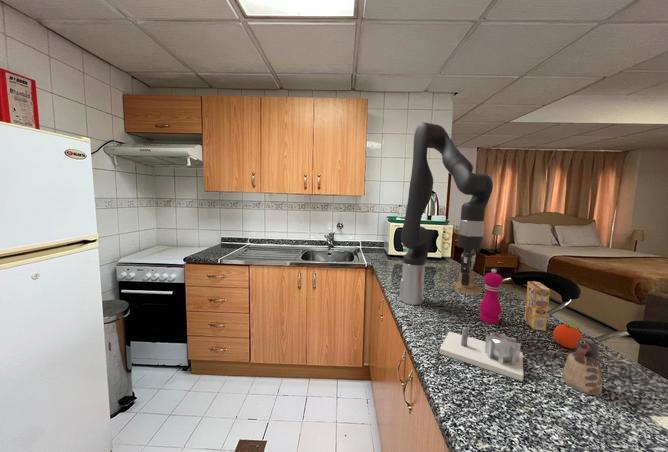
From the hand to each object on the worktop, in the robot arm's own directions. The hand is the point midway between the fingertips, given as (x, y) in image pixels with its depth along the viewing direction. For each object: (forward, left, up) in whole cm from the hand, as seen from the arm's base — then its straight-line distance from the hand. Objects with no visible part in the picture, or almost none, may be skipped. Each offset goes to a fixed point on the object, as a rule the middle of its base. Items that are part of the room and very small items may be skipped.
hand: (466, 282), depth 92 cm
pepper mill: (+7, +15, -17) cm, 24 cm away
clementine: (+29, +9, -17) cm, 35 cm away
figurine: (+29, -13, -17) cm, 36 cm away
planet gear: (0, 0, -3) cm, 3 cm away
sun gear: (+12, -14, -15) cm, 24 cm away
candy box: (+21, +21, -17) cm, 34 cm away
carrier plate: (+7, -14, -17) cm, 23 cm away
